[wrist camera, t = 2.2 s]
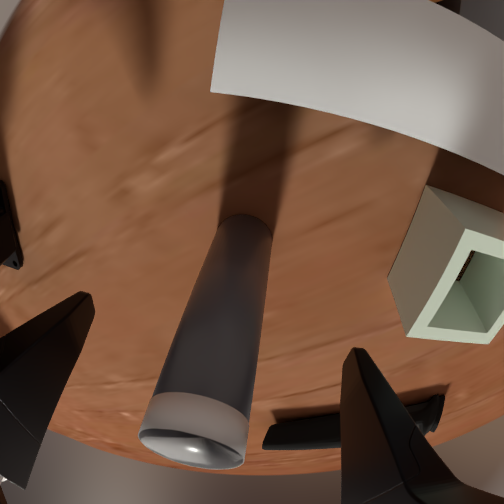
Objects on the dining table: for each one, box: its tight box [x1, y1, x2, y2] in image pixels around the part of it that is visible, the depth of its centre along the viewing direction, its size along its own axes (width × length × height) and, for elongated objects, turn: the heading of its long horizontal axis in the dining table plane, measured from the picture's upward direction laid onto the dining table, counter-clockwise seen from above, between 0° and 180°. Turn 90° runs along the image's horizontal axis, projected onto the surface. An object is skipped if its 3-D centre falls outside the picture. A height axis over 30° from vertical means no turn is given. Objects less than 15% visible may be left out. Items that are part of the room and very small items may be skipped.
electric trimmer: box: [262, 394, 445, 450], centre depth 22 cm, size 4×16×3 cm, turn 103°
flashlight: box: [138, 215, 272, 469], centre depth 11 cm, size 3×3×10 cm
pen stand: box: [387, 185, 504, 344], centre depth 12 cm, size 5×5×4 cm
